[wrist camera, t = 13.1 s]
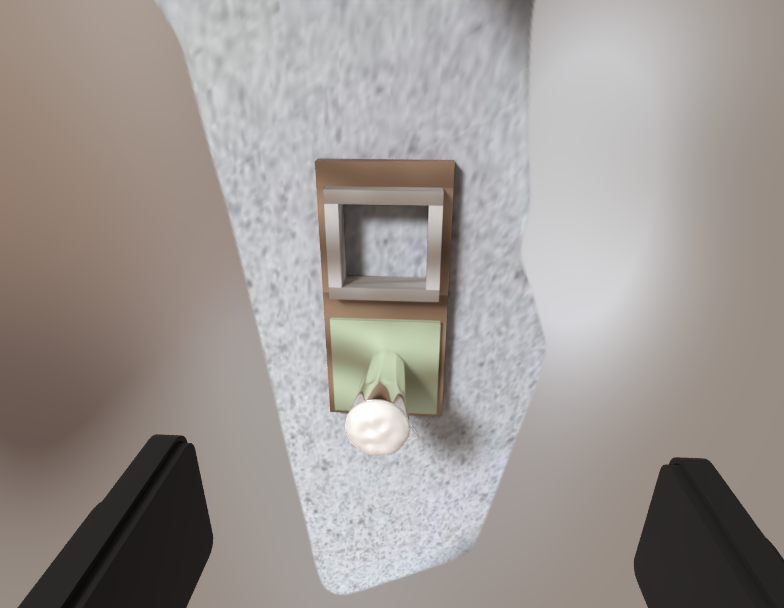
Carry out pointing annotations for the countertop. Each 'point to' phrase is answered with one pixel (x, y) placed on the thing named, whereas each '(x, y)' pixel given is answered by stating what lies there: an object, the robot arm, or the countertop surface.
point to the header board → (385, 280)
